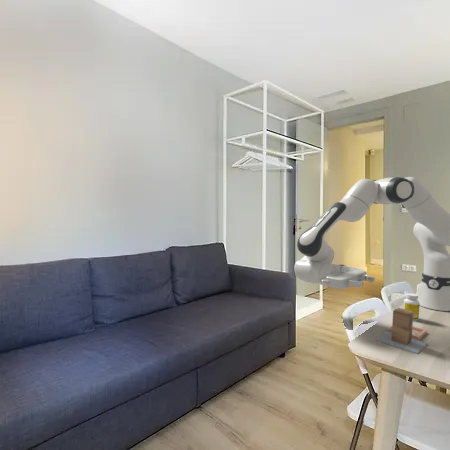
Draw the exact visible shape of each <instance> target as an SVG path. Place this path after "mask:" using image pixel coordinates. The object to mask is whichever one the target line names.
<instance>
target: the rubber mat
mask: <svg viewBox="0 0 450 450" xmlns="http://www.w3.org/2000/svg"><path fill="white" fill-rule="evenodd" d="M391 339H392V332H390V331H389V330H388V331H386V332H384V333H383V334H381V335H379V337H376V339H375V340H376V341H377V342H380V343H383V344H386V345H388V346H392V347H395V348H398V349H400V350H404V351H407V352H410V353H412V354H415V355H418V354H419V353H420V352H421V351H422V350H423V349H424V348H425V347H426V346H427V345H428V343H427V342H425V341H421V340H420V339H419V340H416V339H413V338H412V341H411V342H410V343H409V344H408V345H403V344H400V343H397V342H394V341H391Z"/></svg>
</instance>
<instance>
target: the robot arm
mask: <svg viewBox="0 0 450 450" xmlns="http://www.w3.org/2000/svg"><path fill="white" fill-rule="evenodd" d="M373 204H374V205H375V204H376V205H377V204H380V205H391V204H392V205H393V204H401V205H402V206H403V207H404V209H405V210H406V212H407V214H409V216H410V217H411V218H412V219H413V221H415V224H414V225H413V229H412V231H413V236H414V237H415V238H416V239H417V240H418V242H419V244H420V247H421V250H422V254H423V269H422V271H423V272H422V274H421V282H420V283H418V284H417V287H416V293H415V294H416V295H418V299H417V300H418V301H419V303H420V305H419V307H423V308H427V309H431V310H436V311H441V312H450V253H449V252H448V250H447V247H450V212H448V211H447V210H446V209H444V207H442V206H441V205H440V204H439V203H438V202H437V200H436V199H435V198H434V197H433V195H432V194H431V193H430V191H429V190H428V189H427V188H426V186H425V185H424V184H423V183H422V182H420V181H419V180H418V178H416V177H414V176H405V177H401V176H396V177H384V178H381V179H374V180H372V179H369V178H361V179H359V180H357V182H355V184H353V185H352V186H351V188H349V190H348V191H347V192H346V193H345V195H344V196H343V197H342V198H341V200H340V201H338V202H334V203H333V204H332V205H330V206H329V207H328V208H327V209H326V210H325V211H324V212H323V213H322V215H321V216H320V217H318V219H316V221H315V222H314V223H313V224H312V225H311V226H310V227H309V228H308V229H306V230H305V231H303V232H302V233H301V234H300V235H299V237H298V238H297V239H298V240H297V243H296V246H297V250H298V251H299V252H300V253H301V254H302V255H304V256H303V257H302V258H301V259H298V260H297V261H295V263H294V266H293V268H294V269H293V270H294V275H295V276H296V278H297V279H298V280H301V281H302V282H303V281H304V282H306V283H311V284H319V285H321V286H325V287H329V288H333V289H336V290H345V289H348V288H349V287H350V288H361V289H362V288H363V287H364V284H365V283H364V282H368V283H375V280H376V278H375V277H374V276H370V275H368V274H367V271H366V270H364V269H361V268H356V267H352V266H347V265H346V264H335V263H333V260H334V258H335V252H334V250H333V248H332V246H331V245H329V244H328V243H327V242H326V240H325V236H326V234H327V233H328V232H329V231H330V229H332V227H333V226H335V224H336V223H337V222H339V221H344V222H348V223H355V222H358V221H360V220H362V218H364V216H365V215H366V214H367V213H368V211H369V210H370V208H371V207H372V206H373ZM446 246H447V247H446Z"/></svg>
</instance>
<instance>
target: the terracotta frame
mask: <svg viewBox="0 0 450 450" xmlns="http://www.w3.org/2000/svg"><path fill="white" fill-rule="evenodd" d="M388 331H389V332H392V326H391V327H390V328H389V329H388ZM418 332H419V333H418ZM426 334H427V329H425V328H421V327H417V326H415V325H413V326H412V339H415V340H419V341H420V339H422V337H424V336H425V335H426Z"/></svg>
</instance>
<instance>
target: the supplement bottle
mask: <svg viewBox="0 0 450 450" xmlns="http://www.w3.org/2000/svg"><path fill="white" fill-rule="evenodd" d="M405 297H406V298H404V299H403V306H402V309H406V310H410V311H414V312H413V322H416V321H419V317H420V316H419V315H420V303H419V301H418V300H417V299H418V295H416V293H412V292H409V293H406V294H405Z"/></svg>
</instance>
